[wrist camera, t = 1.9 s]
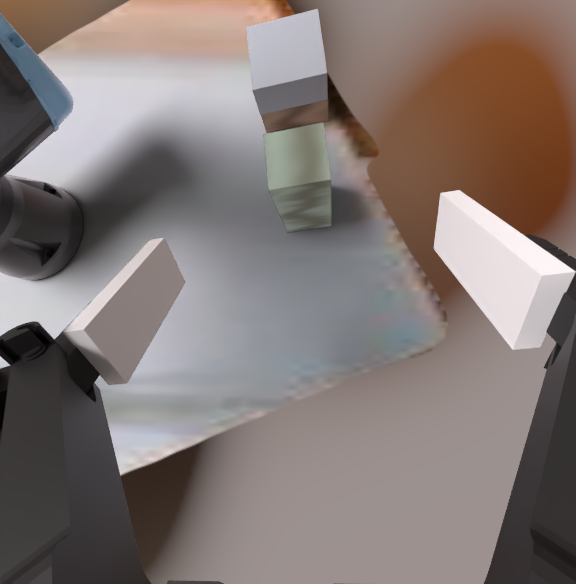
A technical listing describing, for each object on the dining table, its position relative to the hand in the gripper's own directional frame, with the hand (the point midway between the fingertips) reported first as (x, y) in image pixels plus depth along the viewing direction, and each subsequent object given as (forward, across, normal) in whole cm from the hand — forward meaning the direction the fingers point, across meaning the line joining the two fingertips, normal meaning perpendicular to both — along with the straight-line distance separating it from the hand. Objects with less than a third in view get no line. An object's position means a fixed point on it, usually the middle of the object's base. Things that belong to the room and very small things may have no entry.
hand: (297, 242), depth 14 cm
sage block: (+26, 0, -8) cm, 27 cm away
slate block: (+36, 0, +7) cm, 36 cm away
